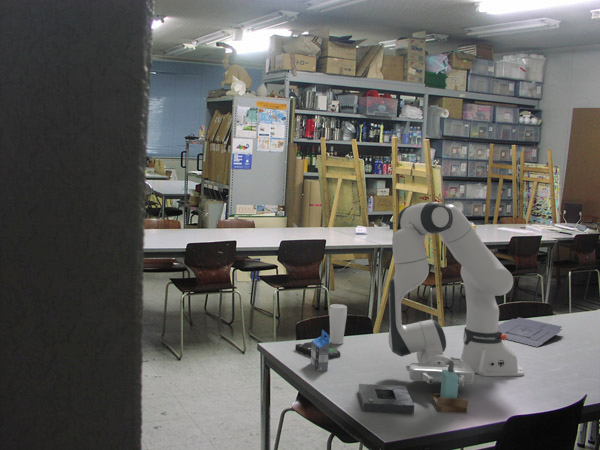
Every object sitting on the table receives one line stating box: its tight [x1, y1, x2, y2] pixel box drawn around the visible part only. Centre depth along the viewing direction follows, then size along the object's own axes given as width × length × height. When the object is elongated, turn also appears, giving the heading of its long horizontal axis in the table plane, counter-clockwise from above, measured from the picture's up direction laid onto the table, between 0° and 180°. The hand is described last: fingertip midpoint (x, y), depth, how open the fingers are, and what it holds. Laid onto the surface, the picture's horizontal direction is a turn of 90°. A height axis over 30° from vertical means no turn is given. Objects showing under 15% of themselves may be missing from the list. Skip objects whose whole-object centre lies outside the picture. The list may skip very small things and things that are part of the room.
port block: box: [358, 383, 415, 415], centre depth 188 cm, size 14×16×3 cm
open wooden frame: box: [429, 392, 469, 414], centre depth 188 cm, size 8×11×4 cm
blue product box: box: [310, 329, 330, 372], centre depth 217 cm, size 9×4×12 cm, turn 16°
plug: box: [439, 361, 459, 398], centre depth 188 cm, size 4×6×14 cm, turn 0°
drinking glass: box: [329, 303, 348, 345], centre depth 248 cm, size 7×7×15 cm
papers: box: [498, 316, 563, 348], centre depth 276 cm, size 24×30×4 cm
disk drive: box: [295, 341, 341, 360], centre depth 234 cm, size 10×3×15 cm
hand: (446, 381), depth 191 cm, fingers open, 8 cm apart
